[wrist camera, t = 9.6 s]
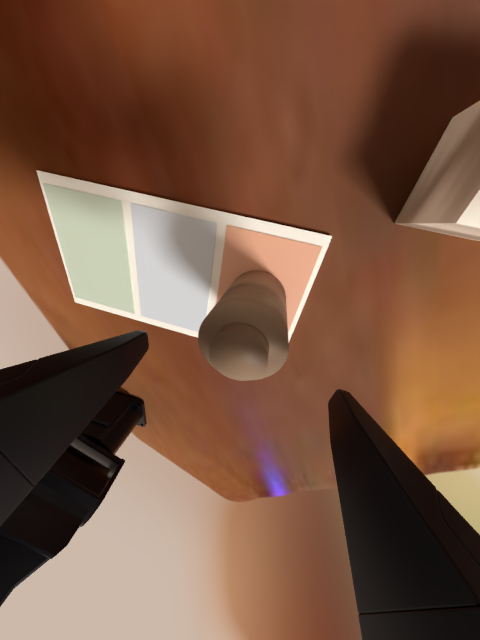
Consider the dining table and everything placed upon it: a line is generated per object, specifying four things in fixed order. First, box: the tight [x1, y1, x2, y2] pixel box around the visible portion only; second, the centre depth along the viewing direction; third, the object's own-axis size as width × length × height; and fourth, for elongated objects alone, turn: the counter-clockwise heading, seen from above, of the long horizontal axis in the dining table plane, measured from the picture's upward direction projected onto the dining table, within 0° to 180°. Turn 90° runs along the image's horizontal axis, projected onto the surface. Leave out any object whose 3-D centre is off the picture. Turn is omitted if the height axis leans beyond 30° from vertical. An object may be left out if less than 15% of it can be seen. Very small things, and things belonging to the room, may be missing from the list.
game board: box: [36, 170, 332, 342], centre depth 17 cm, size 12×24×1 cm, turn 79°
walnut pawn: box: [198, 270, 289, 381], centre depth 12 cm, size 5×5×8 cm
